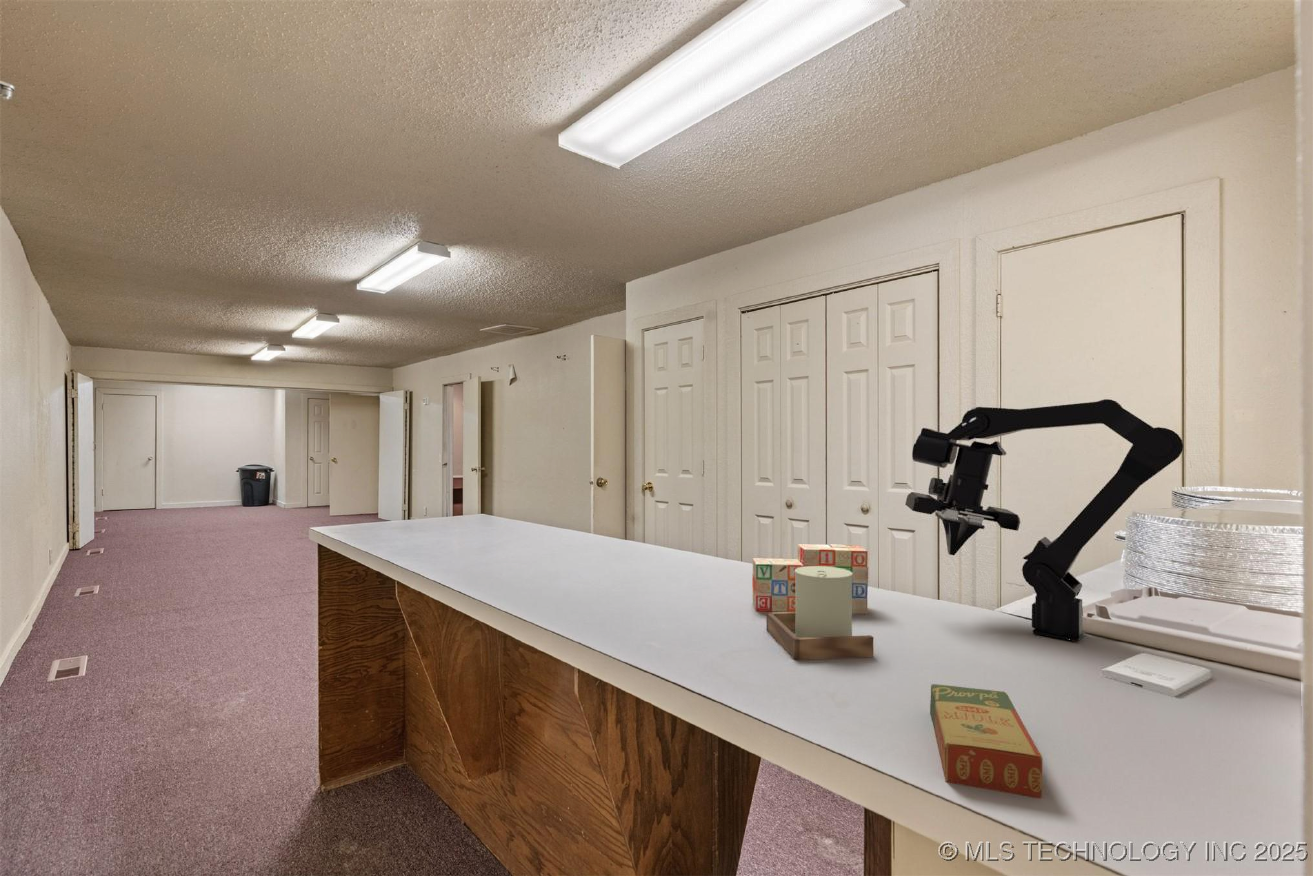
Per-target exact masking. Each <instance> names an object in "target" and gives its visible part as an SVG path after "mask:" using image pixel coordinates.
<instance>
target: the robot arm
mask: <svg viewBox="0 0 1313 876" xmlns="http://www.w3.org/2000/svg"><path fill="white" fill-rule="evenodd" d="M1089 425H1104V426H1106V427H1107V428H1109V429H1110V430H1111V431H1113V432H1114V433H1115V434H1118V435H1119V436H1120V437H1122V438H1123V439H1125V440H1126V441H1128V442H1129V443H1130V444H1132V445H1131V447H1130V448H1129V450H1128V452H1127V454H1126V455H1125V457H1124V459H1123V461H1122V463H1121V464H1120V466H1119V468H1118V469H1117V471H1116V473H1115V474H1114V475H1113V476H1112V477H1111V478H1110V479H1109V481H1108V482H1107V483H1106V484H1105V485H1104V486H1103V487H1102V488H1101V489H1100V490H1099V491H1098V493H1097V494H1096V495H1095V496H1094V497H1093V498H1092V500H1090V501H1089V503H1088V504H1087V505H1086V506H1085V507H1084V508H1083V509H1082V511H1080V513H1078V515H1077V516H1076V517H1075V518H1074V519H1073V520H1072V522H1071V523H1069V525H1068V526H1067V527H1066V528H1065V529H1064V530H1063V531H1062V532H1061V534H1060V535H1059V536H1058V537H1056V538H1055V539H1054V540H1052V541H1051V540H1050V539H1049V538H1048V537H1046V536H1044V537H1042V538H1041V539H1038V540H1037V542H1036V544H1035V545H1034V548H1033V549H1032V551H1031V552H1029V553H1028V554H1026V555H1025V556H1023V557H1022V559H1023V560H1026V561H1025V562H1024V563H1023V565H1022V567H1021V568H1022V569H1021V571H1022V577H1023V579H1024V580H1025V582H1026V583H1027V584H1028V585H1029V586H1030V587H1032V588H1033V590H1034V592H1035V594H1036V595H1035V600H1034V602H1033V603H1032V604H1031V627H1032V634H1034V635H1039V636H1043V635H1046V636H1045V637H1049V636H1050V638H1054V637H1057V638H1056V639H1059V638H1062V639H1061V640H1064V639H1070V640H1074V641H1073V642H1075V641H1079V642H1080V641H1081V639H1082V638H1083V637H1084V636H1085V634H1086V631H1085V630H1083V599H1082V598H1078V597H1077V596H1079V594H1080V593H1081V590H1082V587H1083V583H1081V582H1080V581H1079V580H1078V579H1077V578H1076V577H1075V576H1074V575H1073V574H1072V573H1071V572H1070V569H1071V568H1072V567H1073V565H1074V563H1075V562H1076V559H1077V557H1078V556H1079V555H1080V552H1081V551H1082V550H1083V548H1084V547H1085V546H1086V545H1087V543H1089V541H1091V539H1092V538H1094V536H1095V535H1096V534H1097V533H1098V532H1099V530H1101V529H1102V528H1103V526H1104V525H1106V523H1107V522H1108V521H1109V520H1110V519H1112V517H1113V516H1114V515H1115V514H1116V512H1117V511H1118V510H1119V509H1120V508H1121V507H1122V506H1123V505H1124V503H1126V501H1128V500H1129V498H1131V496H1132V495H1133V494H1134V493H1135V492H1136V491H1137V490H1138V489H1139V488H1140V487H1141V486H1142V485H1143V484H1145V483H1146V482H1147V481H1149V480H1150V479H1152V478H1153V477H1154V476H1157V474H1158V473H1160V472H1161V471H1163V470H1164V469H1165V468H1166V467H1168V466H1170V465H1171V464H1172V463H1174V462H1175V461H1176V460H1177V459H1178V458H1179V457H1180V456H1181V454H1182V452H1183V450H1184V444H1183V440H1182V438H1181V436H1180V435H1179V434H1178V433H1177V432H1175V431H1173V430H1172V429H1169V428H1167V427H1159V426H1158V427H1154V426H1152V425H1150V424H1148V422H1146V421H1144V420H1142V419H1141V418H1139V417H1137V416H1136V415H1135V414H1133V413H1132V412H1130V411H1128V410H1127V409H1125V408H1124V407H1123V406H1122V404H1120V403H1119V402H1118V401H1115V400H1113V399H1109V398H1108V399H1106V398H1105V399H1101V400H1097V401H1089V402H1079V403H1071V404H1060V405H1050V406H1041V407H1040V406H1039V407H1029V408H1004V407H989V406H986V407H985V406H975V407H972V408H970V409H968V410H967V411H966V412H965V413H964V415H963V417H962V419H961V422H960V423H958V425H956V426H955V427H954V428H953V429H952V430H950V431H949V432H948V433H946V432H942V431H939V430H938V431H937V430H934V429H932V428H929V427H928V428H927V427H922V428H921V431H920V433H919V435H918V436H917V438H916V440H915V443H914V444H913V446H912V453H911V456H912V457H911V458H912V461H913V462H917V463H921V464H925V465H929V466H932V467H933V466H934V467H938V468H942V469H945V468H946V467H947V466H949V465H953V463H954V467H953V470H952V471H953V472H952V474H950V475H949V477H948V481H947V482H944V480H943V479H942V478H937V477H932V478H930V482H929V486H928V489H927V490H928V491H927V492H928V493H927V494H925V493H920V492H914V491H910V493H908V495H907V496H906V500H905V506H906V507H908V508H909V509H910V510H911V511H913V512H915V513H920V514H926V515H933V514H935V516H936V517H937V518H938V519H940V520H941V523H942V524H943V529H944V533H945V540H946V547H947V548H946V549H947V554H948V555H950V556H955V555H956V554H957V553H958V552H959V550H960V549H961V548H962V547H963V545H965V543H966V542H967V541H969V539H970V538H971V537H972V536H973V535H974V534H975V533H976V532H977V531H978V530H980V529H981V530H984V529H985V528H986V527H985V525H983V522H984V521H989V522H993V523H994V522H995V523H997V525H998V526H999V528H1001V529H1006V530H1010V531H1016V532H1018V531H1019V528H1020V525H1021V518H1020V516H1019V514H1017V513H1014V511H1011V510H1009V509H1006V508H1003V507H1002V508H1001V507H995V506H990V505H989V506H988V507H987V508H986V509H984V506H982V501H983V497H984V493H985V491H988V488H989V484H988V483H987V482H988V481H987V480H988V477H989V473H990V468H991V464H992V460H993V455H994V456H995V455H996V456H999V457H1001V456H1002V457H1003V456H1007V451H1006V450H1005V449H1004V448H1003V447H1002V445H1001V443H1000V441H994V442H992V443H986V442H982V441H981V442H980V441H977V440H976V441H972V440H974V439H980V440H982V439H983V440H987V439H988V440H989V439H994V438H999V437H1001V436H1003V437H1004V436H1007V435H1010V434H1015V433H1017V432H1021V431H1026V430H1038V429H1039V430H1041V429H1052V428H1064V427H1077V426H1089ZM957 441H968V442H969V441H972V442H971V444H970V445H968V444H963V443H957ZM948 464H949V465H948ZM933 496H935V497H936V498H934V497H933ZM1076 597H1077V598H1076ZM1081 637H1082V638H1081ZM1080 638H1081V639H1080ZM1070 640H1069V641H1070Z"/></svg>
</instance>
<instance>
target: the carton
mask: <svg viewBox="0 0 1313 876" xmlns="http://www.w3.org/2000/svg"><path fill="white" fill-rule="evenodd" d="M929 706H930V707H929V714H930V718H931V722H933V723H932V727H933V729H934V735H935V738H936V741H935V742H936V744H937V749H938V755H939V758H940V762H941V763H940V764H941V767H942V772H943V777H944V780H945V781H944V782H945V783H951V784H955V785H962V786H967V787H973V788H980V789H985V790H990V791H994V792H995V791H997V792H1002V793H1007V794H1014V795H1020V796H1023V797H1024V796H1025V797H1031V798H1036V799H1042V793H1043V792H1042V791H1043V790H1042V789H1043V756H1042V754H1041V753H1040V751H1039V750H1038V748H1037V746H1036V744H1035V742H1034V741H1033V739H1032V737H1031V735H1030V733H1029V731H1028V729H1027V728H1026V727H1025V725H1024V722H1023V721H1022V719H1021V717H1020V715H1019V713H1018V711H1017V710H1016V708H1015V706H1014V704H1013V702H1012V701H1011V699H1010V696H1009V695H1008V694H1007V692H1005V691H1001V690H991V689H982V688H973V687H965V686H956V685H948V684H946V685H945V684H937V683H935V684H934V683H931V684H930V705H929Z"/></svg>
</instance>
